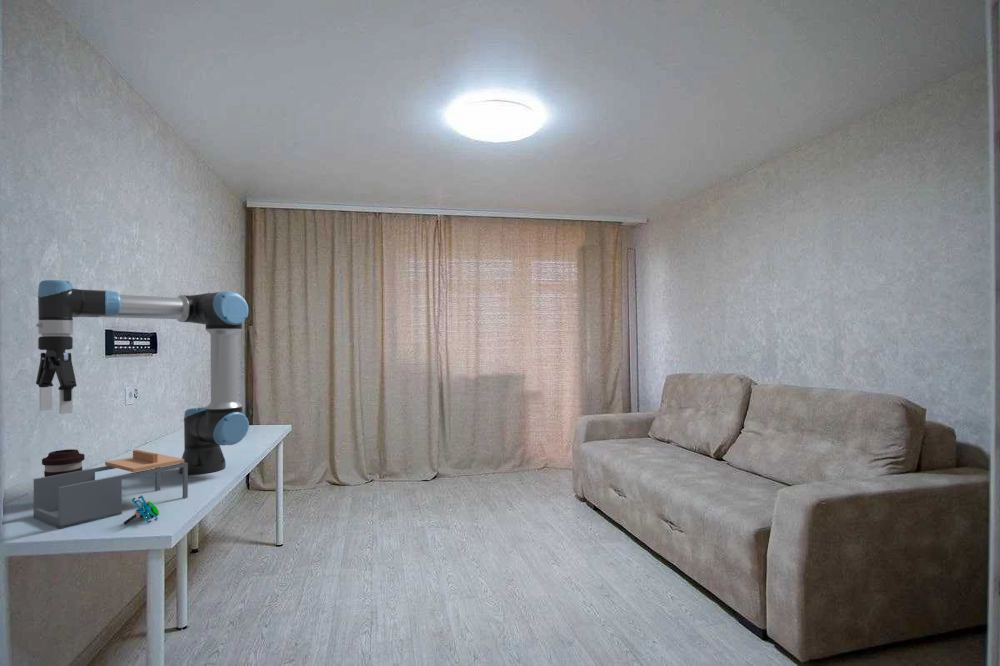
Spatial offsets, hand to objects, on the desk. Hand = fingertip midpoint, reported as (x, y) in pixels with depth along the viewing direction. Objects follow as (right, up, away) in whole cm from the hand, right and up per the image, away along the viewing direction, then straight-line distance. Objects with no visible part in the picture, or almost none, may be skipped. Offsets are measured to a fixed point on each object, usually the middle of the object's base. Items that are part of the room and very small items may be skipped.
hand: (55, 411), depth 154 cm
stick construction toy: (+29, -28, -8) cm, 41 cm away
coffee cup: (-5, -28, +9) cm, 30 cm away
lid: (+18, -17, +11) cm, 27 cm away
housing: (+14, -28, +4) cm, 31 cm away
